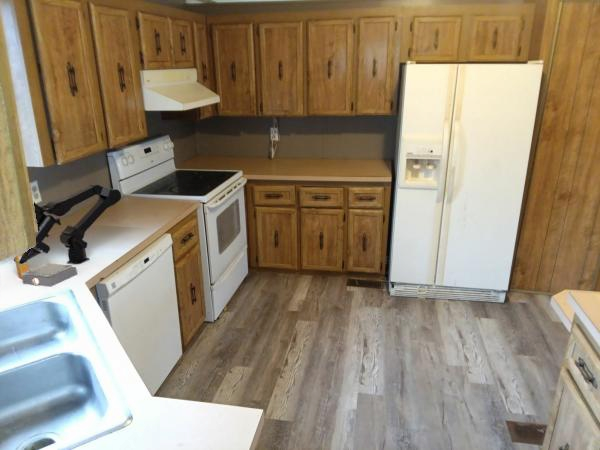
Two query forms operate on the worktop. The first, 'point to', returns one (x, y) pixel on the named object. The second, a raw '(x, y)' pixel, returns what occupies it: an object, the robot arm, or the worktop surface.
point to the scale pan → (49, 270)
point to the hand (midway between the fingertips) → (17, 262)
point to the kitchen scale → (49, 278)
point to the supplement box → (21, 266)
